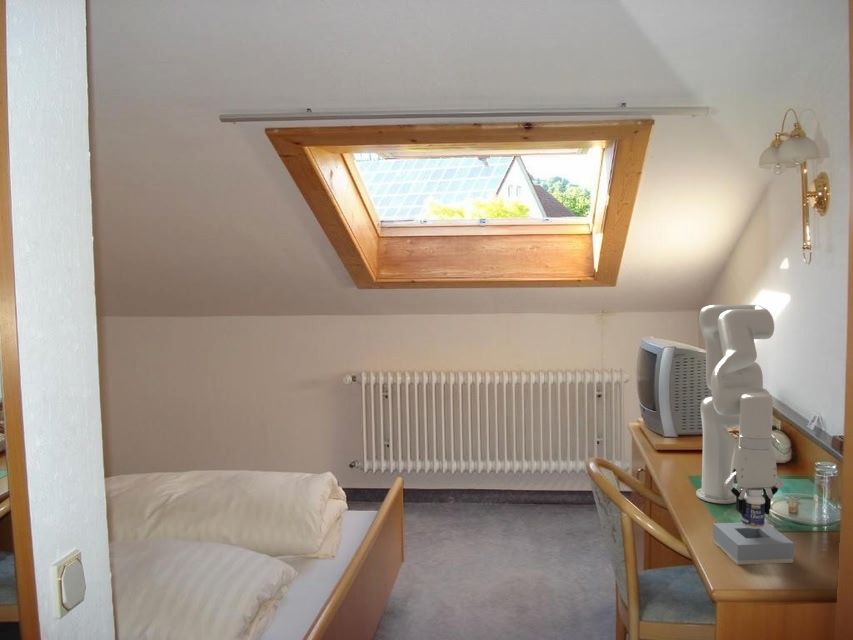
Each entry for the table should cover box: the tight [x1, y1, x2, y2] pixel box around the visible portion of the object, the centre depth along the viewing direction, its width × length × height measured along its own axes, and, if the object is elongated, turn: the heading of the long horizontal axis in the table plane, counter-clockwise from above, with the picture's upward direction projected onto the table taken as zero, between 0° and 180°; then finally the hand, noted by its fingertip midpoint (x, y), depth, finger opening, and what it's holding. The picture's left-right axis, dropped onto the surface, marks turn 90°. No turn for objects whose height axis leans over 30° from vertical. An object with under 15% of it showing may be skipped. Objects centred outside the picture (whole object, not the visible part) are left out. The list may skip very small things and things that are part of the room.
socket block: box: [712, 521, 795, 566], centre depth 189 cm, size 14×14×5 cm
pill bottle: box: [740, 488, 766, 529], centre depth 188 cm, size 5×5×10 cm
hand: (753, 512), depth 188 cm, fingers closed on pill bottle, 5 cm apart
